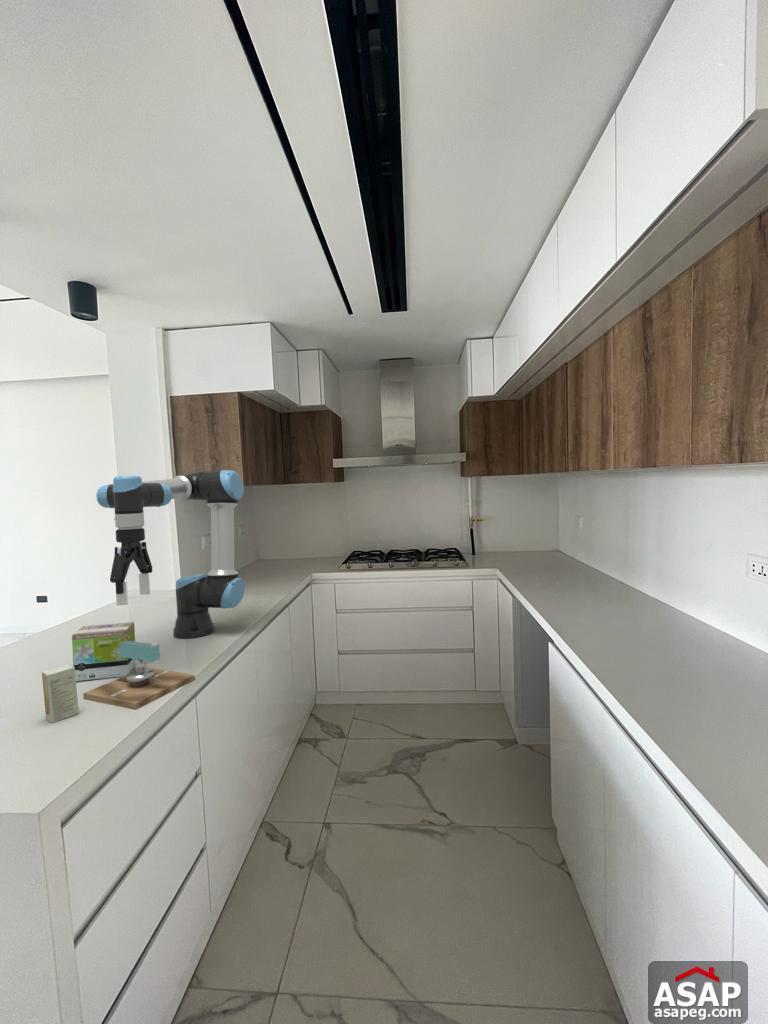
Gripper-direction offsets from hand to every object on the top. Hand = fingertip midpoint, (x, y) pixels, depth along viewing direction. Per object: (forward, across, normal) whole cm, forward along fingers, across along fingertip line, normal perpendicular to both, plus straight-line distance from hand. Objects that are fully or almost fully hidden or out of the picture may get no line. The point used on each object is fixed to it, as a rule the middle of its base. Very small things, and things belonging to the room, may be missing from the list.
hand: (134, 599), depth 138 cm
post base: (+24, +6, +4) cm, 26 cm away
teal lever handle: (+21, +6, +4) cm, 22 cm away
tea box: (+25, -7, -13) cm, 29 cm away
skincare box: (+25, +21, -9) cm, 34 cm away
